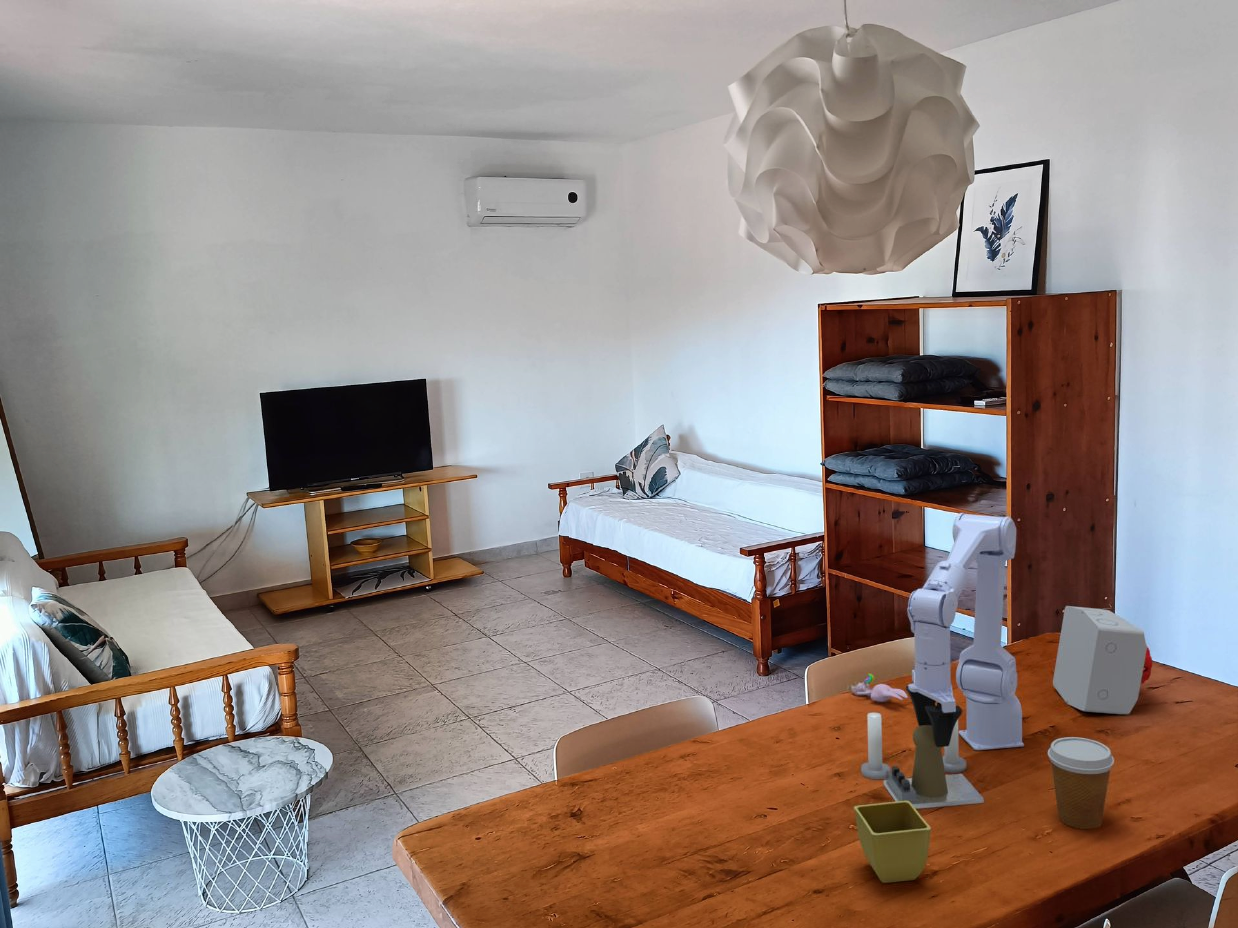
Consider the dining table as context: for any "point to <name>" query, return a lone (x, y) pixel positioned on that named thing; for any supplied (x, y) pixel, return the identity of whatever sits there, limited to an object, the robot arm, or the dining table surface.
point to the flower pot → (893, 839)
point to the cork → (928, 764)
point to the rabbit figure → (876, 690)
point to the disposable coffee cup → (1080, 780)
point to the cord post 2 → (953, 755)
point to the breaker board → (956, 795)
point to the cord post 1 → (874, 750)
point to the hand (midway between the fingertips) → (933, 735)
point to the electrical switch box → (1100, 661)
